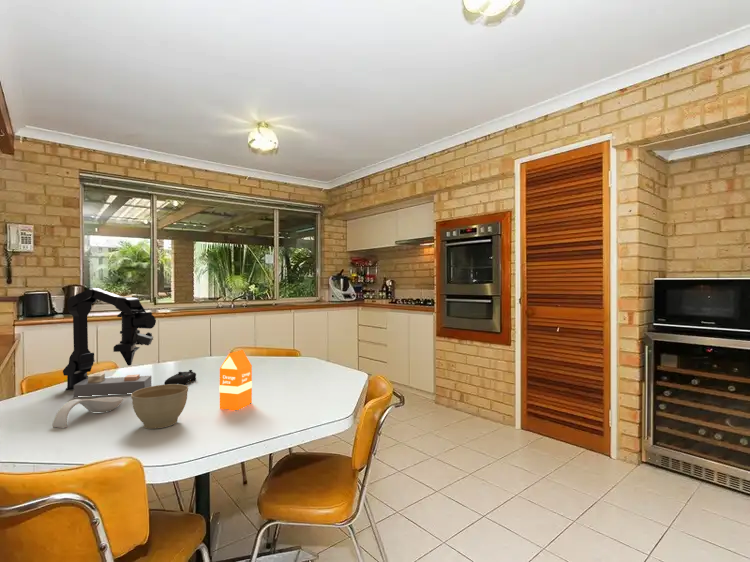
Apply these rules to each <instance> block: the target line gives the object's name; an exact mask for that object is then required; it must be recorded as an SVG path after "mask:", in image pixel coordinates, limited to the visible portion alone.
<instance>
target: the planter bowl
mask: <svg viewBox="0 0 750 562" xmlns="http://www.w3.org/2000/svg"><path fill="white" fill-rule="evenodd" d="M188 392H189V386H188V385H182V384H167V385H165V384H158V385H151V387H147V388H143V389H140V390H137V391H135V392H133V393H132V394H130V397H131V398H130V399H131V402H132V403H131V404H132V408H133V411H134V414H135V416H136V417H137V419H138V420H139V421H140V422H141V423H142V424H143V428H145V429H148V430H149V429H151V430H152V429H153V430H155V429H161V428H162V429H163V428H167V427H171V426H173V425H175V424H176V423H177V422H178V421H179V419H178V418H179V417H180V416H181V414H182V413H183V411H184V409H185V407H186V404H187V400H188Z"/></svg>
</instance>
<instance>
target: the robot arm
mask: <svg viewBox="0 0 750 562" xmlns="http://www.w3.org/2000/svg"><path fill="white" fill-rule="evenodd" d="M97 301H100V302H104V303H107V304H109V305H111V306H114V307H115V308H116V309H117V310H118V311H120V313H119V314H117V315H116V317H117V318H121V330H120V331H119V334H121V340H120V341H119V343H117V344H115V345H114V346H113V351H112V352H113V353H114V352H117V353H120V354H121V356H122V357H123V360H124V361H125V363H126V365H127V366H132V364H133V361H134V357H135V354H136V352H137V351H138V350H139V349H140V348H141V347H140V346H143V345H144V346H150V345H151V344H152V342H153V340H154V336H153V334H152V332H149V331H148V332H146V333H141V330H140V329H149V330H150V329H153V328H154V327H155V326H156V324H157V320H156V317H155V316H154V315H153V312H151V311H146V309H145V308H144V306H143V305H142V303H141V301H140V299H139V298H138V297H131V296H123V295H119V294H116V293H113V292H109V291H107V290H104V289H101V288H100V287H90V288H87V289H86V290H84V291H81V292H79V293H77V294H75V295H71V296H70V297H69V298H68V299H67V301H66V305H67V310H68V312H69V314H70V315H71V317H72V328H73V333H72V334H73V335H72V336H73V350H72V352H71V354H70V356H69V359H68V364H67V365H66V366H65V368H63V370H62V374H63V376H64V377H65V376H66V377H67V379H66V381H67V382H66V383H67V386H66V388H65V389H73V390H74V385H75V384H77V383H79V382H81V381H83V380H85V379H88V376H89V375H88V373H91V371H92V368H93V366H94V363H95V361H96V360H95V353H94V352H91V351H90V349H89V339H88V338H89V337H88V336H89V335H88V332H89V331H88V328H89V327H88V316H89V313H90V312H91V311H92V309H93V308H92V307H93V304H95V303H96V302H97ZM139 345H140V346H139Z"/></svg>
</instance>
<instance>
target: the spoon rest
mask: <svg viewBox="0 0 750 562" xmlns="http://www.w3.org/2000/svg"><path fill="white" fill-rule="evenodd" d="M123 401H124V397H122V396H108V397H107V396H102V397H97V398H95V397H94V398H91V399H88V398H87V399H80V398H73V399H71V400H69V401H67V402H66V403H65V404H63V405H62V407H60V408H59V410H58V411H57V412H56V415H55V417H54V419H53V421H52V428H55V427H57V428H59V429H60V428H61V429H62V428H63V429H65V428H68V416H69V414H70V412H71V410H72V409H73V408H74V407H75V406H77V405H78V404H79V405H82V406H83V407H84V408H85V409H86V410H87V411H89V412H91V413H92V412H105V413H107V412H106V411H109V412H111V411H114V409H117V407H119V406H120V405H121V404H122V403H123ZM110 410H111V411H110Z"/></svg>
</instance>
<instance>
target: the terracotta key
mask: <svg viewBox="0 0 750 562" xmlns="http://www.w3.org/2000/svg"><path fill="white" fill-rule="evenodd" d="M140 376H141V374H127V375H126V376H123V377H124V381H132V380H138V379H139V378H140Z"/></svg>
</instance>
